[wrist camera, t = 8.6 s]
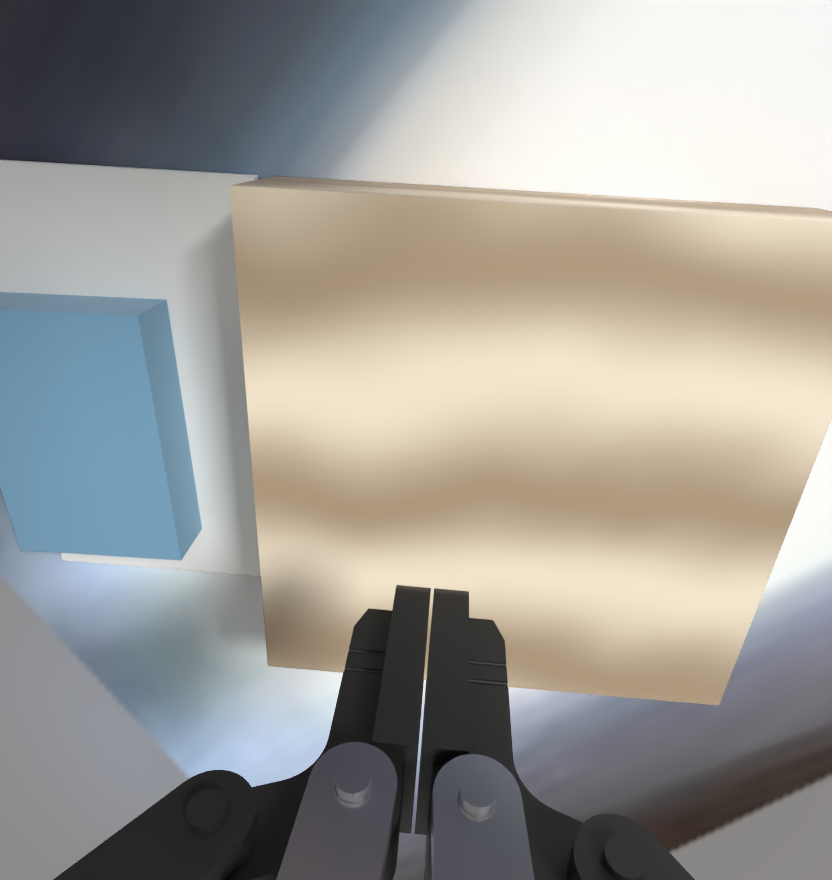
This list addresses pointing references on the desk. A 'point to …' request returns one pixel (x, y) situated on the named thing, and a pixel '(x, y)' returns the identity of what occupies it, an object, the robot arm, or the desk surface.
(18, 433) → the blue flat block
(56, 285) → the mat
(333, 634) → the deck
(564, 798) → the desk surface
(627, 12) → the desk surface
